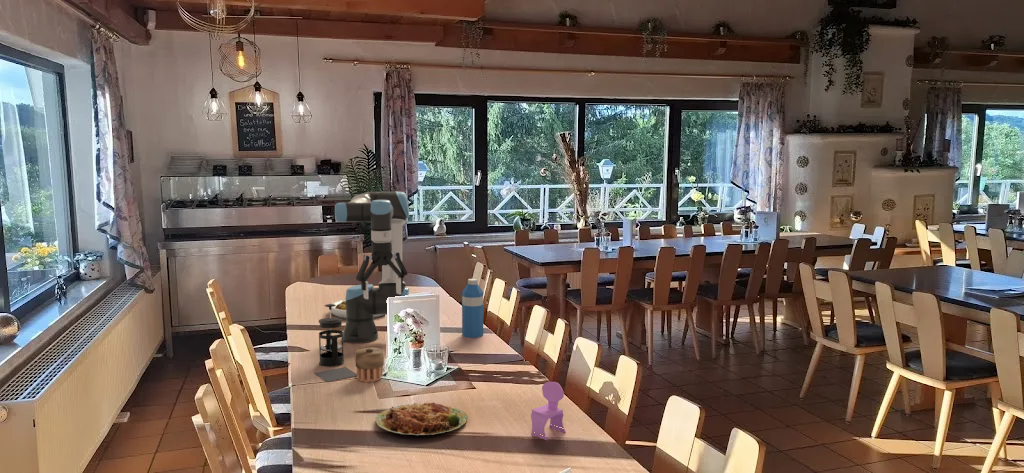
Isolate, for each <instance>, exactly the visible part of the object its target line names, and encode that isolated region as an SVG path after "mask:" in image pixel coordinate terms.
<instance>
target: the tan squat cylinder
mask: <svg viewBox="0 0 1024 473" xmlns="http://www.w3.org/2000/svg"><path fill="white" fill-rule="evenodd" d="M384 353H385V351H384V349H382V348H379V347H364V348H360V349H359V348H358V349H357V350H355V353H354V355H355V356H354V358H355V359H354V360H355V367H356V369H357V368H360V369H376V368H380V367H384V365H385V354H384Z"/></svg>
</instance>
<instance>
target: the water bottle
mask: <svg viewBox="0 0 1024 473" xmlns="http://www.w3.org/2000/svg"><path fill="white" fill-rule="evenodd" d="M461 333H462V334H461V335H462V336H463V337H464V338H471V339H476V338H481V337H483V336H484V291H483V290H482V289H481V286H479V284H478V278H468V279H467V284H466V286H465V287H464V289H463V290H462V291H461Z"/></svg>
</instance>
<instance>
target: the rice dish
mask: <svg viewBox="0 0 1024 473" xmlns="http://www.w3.org/2000/svg"><path fill="white" fill-rule="evenodd" d="M467 420H468V415H467V414H466V412H464V411H463V410H461V409H458V408H455V407H452V406H448V405H444V404H441V403H436V402H423V403H417V402H414V403H413V404H412V403H411V404H405V405H404V404H403V405H398V406H391V407H390V408H387V409H385V410H383V411H382V412H380V413H378V415H376V417H375V422H376V425H377V426H378V427H379V428H381V429H382V430H384V431H387V432H391V433H394V434H400V435H413V436H434V435H439V434H444V433H446V432H451V431H454V430H457V429H459V428H461V426H464V425H465V424H466V423H467Z"/></svg>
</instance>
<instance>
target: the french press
mask: <svg viewBox="0 0 1024 473" xmlns="http://www.w3.org/2000/svg"><path fill="white" fill-rule="evenodd" d="M334 306H336V305H335V304H332V303H328V304H327V303H326V304H325V305H324V307H326V308H328V309H329V317H325V318H321V319H318V323H319V327H320V328H322V329H326V330H322V331H319V332H318V350H319V354H318V355H319V362H318V364H319V365H320V366H322V367H324V368H325V367H327V368H328V367H330V368H331V367H332V368H333V367H339V366H342V365H343V364H344V363H345V360H344V340H343V331H344V330H343V331H342V330H340V329H335V328H340V327H342V324H343V319H344V318H340V317H332V312H331V310H332V307H334ZM333 334H334V335H333ZM340 338H341V344H340V343H338V339H340ZM321 339H323V340H325V341H326V343H325V344H323V345H321V342H322V341H321Z"/></svg>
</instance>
